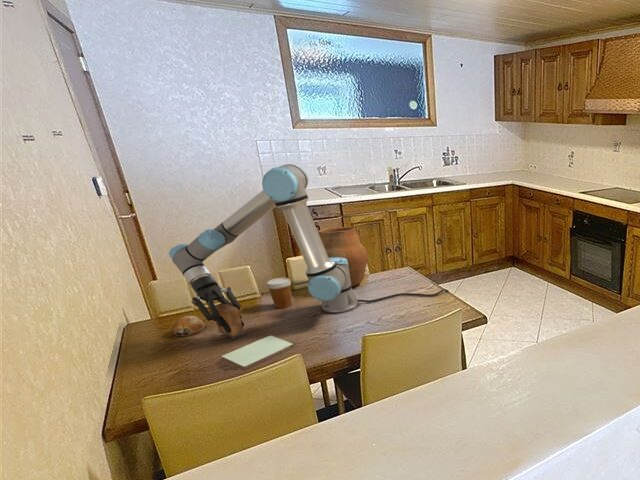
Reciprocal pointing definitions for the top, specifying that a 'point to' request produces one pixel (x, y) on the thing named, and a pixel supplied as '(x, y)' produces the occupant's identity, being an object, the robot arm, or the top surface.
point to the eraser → (230, 320)
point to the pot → (346, 250)
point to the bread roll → (187, 326)
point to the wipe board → (256, 350)
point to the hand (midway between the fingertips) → (236, 328)
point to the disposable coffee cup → (280, 292)
